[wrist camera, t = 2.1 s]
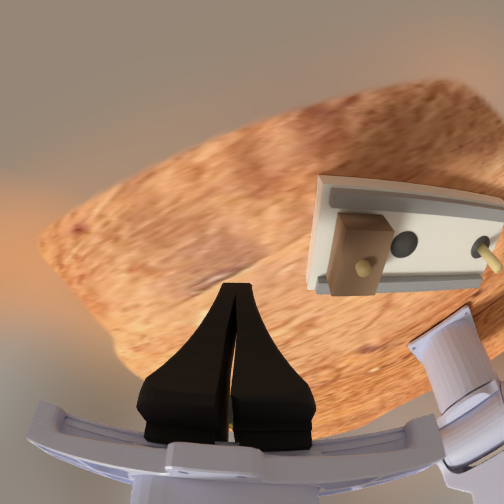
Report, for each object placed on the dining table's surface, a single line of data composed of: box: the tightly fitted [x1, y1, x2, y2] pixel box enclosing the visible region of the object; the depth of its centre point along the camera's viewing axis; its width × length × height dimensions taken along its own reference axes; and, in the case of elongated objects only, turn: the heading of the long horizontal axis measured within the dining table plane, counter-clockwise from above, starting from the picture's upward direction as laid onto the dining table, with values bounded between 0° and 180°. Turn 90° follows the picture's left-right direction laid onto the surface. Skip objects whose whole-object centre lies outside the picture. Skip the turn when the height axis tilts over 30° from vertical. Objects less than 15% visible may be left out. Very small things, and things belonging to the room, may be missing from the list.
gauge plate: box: [305, 175, 504, 294], centre depth 18 cm, size 16×8×4 cm, turn 90°
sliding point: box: [326, 212, 395, 296], centre depth 17 cm, size 3×5×2 cm, turn 0°
